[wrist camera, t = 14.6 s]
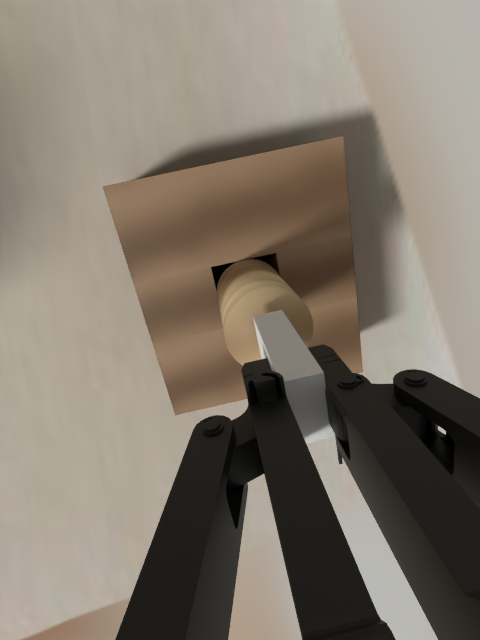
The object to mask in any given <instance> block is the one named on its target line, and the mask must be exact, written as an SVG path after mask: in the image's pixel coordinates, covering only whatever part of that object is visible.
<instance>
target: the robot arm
mask: <svg viewBox="0 0 480 640" xmlns="http://www.w3.org/2000/svg"><path fill="white" fill-rule="evenodd" d="M253 319H254V324H255V329H256V334H257V339H258V344H259V350H260V355H261V359H260V360H256V361H252V362H247V363H244V365H243V367H242V369H241V371H242V376H243V380H244V385H245V389H246V394H247V398H248V408H247V410H246V411H245V413H243V414H242V415H241V416H240V417H238V418H236V419H234V420H232V421H231V420H230V419H229V418H228V417H225V416H219V415H216V416H211V417H208V418H206V419H204V420H202V421H200V422H199V423H198V424H197V425H196V426H195V428H194V430H193V432H192V435H191V437H190V440H189V443H188V446H187V448H186V451H185V454H184V456H183V459H182V462H181V464H180V467H179V470H178V473H177V475H176V478H175V481H174V483H173V486H172V489H171V491H170V494H169V497H168V499H167V502H166V505H165V508H164V510H163V513H162V516H161V518H160V521H159V524H158V526H157V529H156V532H155V535H154V537H153V540H152V543H151V545H150V548H149V551H148V553H147V556H146V559H145V561H144V564H143V567H142V570H141V572H140V575H139V578H138V580H137V583H136V586H135V588H134V591H133V594H132V597H131V599H130V602H129V605H128V608H127V610H126V613H125V615H124V618H123V621H122V624H121V626H120V629H119V632H118V634H117V637H116V640H228V636H229V628H230V620H231V613H232V605H233V597H234V590H235V583H236V575H237V567H238V560H239V552H240V545H241V537H242V529H243V522H244V514H245V507H246V499H247V492H248V484H247V482H249V481H251V480H253V479H255V478H257V477H258V476H260V475H262V474H265V478H266V482H267V487H268V491H269V496H270V500H271V504H272V509H273V513H274V517H275V522H276V526H277V531H278V535H279V539H280V544H281V548H282V552H283V557H284V561H285V566H286V570H287V574H288V578H289V583H290V587H291V592H292V596H293V601H294V605H295V609H296V614H297V618H298V622H299V627H300V631H301V635H302V640H395V638H394V636H393V633H392V631H391V630H390V628H389V627H388V625H387V623H385V622H384V621H382V620H381V619H380V617H379V616H378V614H377V611H376V609H375V607H374V605H373V602H372V600H371V598H370V595H369V593H368V590H367V588H366V586H365V583H364V581H363V578H362V576H361V574H360V571H359V569H358V566H357V564H356V562H355V559H354V557H353V554H352V552H351V550H350V547H349V545H348V543H347V540H346V538H345V535H344V533H343V531H342V528H341V526H340V523H339V521H338V519H337V516H336V514H335V511H334V509H333V507H332V504H331V502H330V500H329V497H328V495H327V492H326V490H325V488H324V485H323V483H322V480H321V478H320V476H319V473H318V471H317V468H316V466H315V464H314V461H313V459H312V457H311V454H310V452H309V449H308V447H307V445H306V444H307V443H311V442H315V441H319V440H324V439H328V438H332V432H331V427H332V429H333V431H334V432H335V436H336V444H337V452H338V460H339V464H342V457H343V459H344V461H345V463H346V465H347V466H348V468H349V470H350V472H351V474H352V476H353V478H354V480H355V482H356V484H357V486H358V487H359V489H360V491H361V493H362V495H363V497H364V499H365V501H366V503H367V504H368V506H369V508H370V510H371V512H372V514H373V516H374V518H375V520H376V522H377V524H378V526H379V527H380V529H381V531H382V533H383V535H384V537H385V539H386V541H387V542H388V544H389V546H390V548H391V550H392V552H393V554H394V556H395V558H396V560H397V562H398V564H399V565H400V567H401V569H402V571H403V573H404V575H405V577H406V579H407V581H408V583H409V585H410V586H411V588H412V590H413V592H414V594H415V596H416V598H417V600H418V602H419V604H420V605H421V607H422V609H423V611H424V613H425V615H426V617H427V619H428V621H429V622H430V625H431V627H432V628H433V630H434V632H435V634H436V636H437V638H438V640H480V398H478V397H476V396H474V395H472V394H470V393H468V392H466V391H464V390H462V389H460V388H458V387H456V386H454V385H453V384H451V383H449V382H447V381H445V380H443V379H441V378H439V377H437V376H435V375H433V374H431V373H428V372H426V371H422V370H416V369H412V370H405V371H401V372H399V373H397V374H396V375H395V376H394V378H393V384H371V383H370V381H369V380H368V379H367V378H366V377H364V376H363V375H360V374H357V373H352V372H351V370H350V369H349V368H348V367H347V365H346V364H345V363H344V362H343V361H342V360H341V358H340V357H339V356H338V355H337V353H336V352H335V351H334V350H333V348H331V347H328V346H326V345H324V344H322V345H318V346H314V347H309V348H307V347H306V345H305V344H304V342H303V341H302V339H301V338H300V336H299V335H298V333H297V332H296V330H295V329H294V327H293V326H292V324H291V323H290V321H289V320H288V318H287V317H286V315H285V314H284V312H283V311H282V310H278V311H274V312H269V313H265V314H260V315H256V316H253ZM438 426H440V427H441V428H443V429H444V430H445V431H446V435H445V434H443V433H442V432H440V431H439V430H438Z"/></svg>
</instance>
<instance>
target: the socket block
mask: <svg viewBox="0 0 480 640" xmlns="http://www.w3.org/2000/svg"><path fill="white" fill-rule="evenodd" d="M103 189H104V192H105V195H106V198H107V201H108V205H109V208H110V211H111V214H112V217H113V220H114V223H115V227H116V230H117V233H118V236H119V239H120V242H121V245H122V249H123V252H124V255H125V258H126V261H127V264H128V267H129V271H130V274H131V277H132V280H133V283H134V286H135V290H136V293H137V296H138V299H139V302H140V305H141V308H142V312H143V315H144V318H145V321H146V324H147V327H148V330H149V334H150V337H151V340H152V343H153V346H154V349H155V352H156V356H157V359H158V362H159V365H160V368H161V371H162V374H163V378H164V381H165V384H166V387H167V390H168V393H169V396H170V400H171V403H172V406H173V409H174V412H175V415H178V414H183V413H187V412H191V411H196V410H200V409H204V408H209V407H213V406H217V405H222V404H226V403H230V402H235V401H239V400H243V399H248V398H247V394H246V389H245V385H244V380H243V376H242V371H241V369H242V367H243V365H241V364H240V363H239V362H237V361H236V360H235V359H234V358H233V356H232V355H231V353H230V352H229V350H228V348H227V345H226V342H225V336H224V330H223V325H222V319H221V313H220V307H219V303H218V300H217V286H216V281H215V277H214V272H213V268H212V267H213V266H218V265H223V264H227V263H232V262H236V261H240V260H244V259H250V258H254V257H259V256H264V255H265V258H266V263H268V264H269V265H270V266H272V267H273V268H274V269H275V270H276V272H277V273H278V275H279V276H280V277H281V278H282V279H283V280H284V281H285V282H286V283H287V284H288V285H289V286H290V288H291V289H292V290H293V291H294V292H295V293H296V294H297V295H298V296H299V297H300V298H301V299H302V301H303V302H304V303H305V304H306V305H307V307H308V309H309V311H310V313H311V316H312V319H313V335H312V339H311V342H310V344H309V346H308V348H309V347H314V346H318V345H322V344H324V345H326V346H328V347H331V348H333V350H334V351H335V352H336V353H337V355H338V356H339V357H340V358H341V360H342V361H343V362H344V363H345V364H346V365H347V367H348V368H349V369H350V370H351V372H352V373H360V372H363V368H362V356H361V344H360V332H359V320H358V307H357V295H356V283H355V271H354V259H353V247H352V235H351V222H350V210H349V198H348V186H347V174H346V162H345V150H344V137H343V136H340V137H335V138H330V139H326V140H321V141H316V142H312V143H307V144H302V145H297V146H293V147H288V148H283V149H278V150H274V151H269V152H264V153H260V154H255V155H250V156H245V157H241V158H236V159H231V160H226V161H222V162H217V163H212V164H208V165H203V166H198V167H193V168H189V169H184V170H179V171H174V172H170V173H165V174H160V175H156V176H151V177H146V178H141V179H137V180H132V181H127V182H122V183H118V184H113V185H108V186H104V187H103Z"/></svg>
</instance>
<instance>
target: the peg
mask: <svg viewBox="0 0 480 640" xmlns="http://www.w3.org/2000/svg"><path fill="white" fill-rule="evenodd" d="M217 300H218V303H219V307H220V313H221V319H222V325H223V330H224V336H225V342H226V345H227V348H228V350H229V352H230V353H231V355H232V356H233V358H234V359H235V360H236V361H237V362H239V363H240V364H241V365H244V363H247V362H252V361H256V360H260V359H261V355H260V350H259V344H258V339H257V334H256V329H255V324H254V319H253V316H256V315H260V314H265V313H269V312H274V311H278V310H282V311H283V312H284V314H285V315H286V317H287V318H288V320H289V321H290V323H291V324H292V326H293V327H294V329H295V330H296V332H297V333H298V335H299V336H300V338H301V339H302V341H303V342H304V344H305V345H306V347H307V348H308V346H309V344H310V342H311V339H312V335H313V319H312V316H311V313H310V311H309V309H308V307H307V305H306V304H305V303H304V302H303V301H302V299H301V298H300V297H299V296H298V295H297V294H296V293H295V292H294V291H293V290H292V289H291V288H290V286H289V285H288V284H287V283H286V282H285V281H284V280H283V279H282V278H281V277H280V276H279V275H278V273H277V272H276V270H275V269H274V268H273V267H272V266H270V265H269V264H268V263H266V262H264V261H261V260H257V259H252V258H250V259H244V260H240V261H236V262H232V263H227V264H224V266H223V269H222V275H221V277H220V279H219V281H218V285H217Z"/></svg>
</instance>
